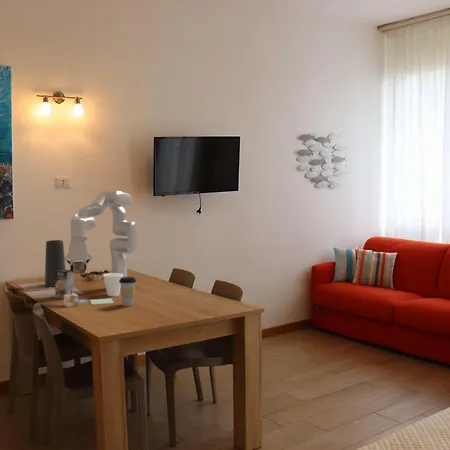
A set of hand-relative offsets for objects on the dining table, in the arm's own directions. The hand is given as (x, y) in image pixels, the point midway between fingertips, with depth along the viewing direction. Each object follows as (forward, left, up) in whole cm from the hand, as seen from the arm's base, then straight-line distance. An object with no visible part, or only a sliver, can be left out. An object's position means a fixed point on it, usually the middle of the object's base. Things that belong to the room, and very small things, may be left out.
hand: (78, 271), depth 342 cm
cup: (-21, -12, -18) cm, 30 cm away
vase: (+10, -54, -18) cm, 58 cm away
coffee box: (+7, -14, -18) cm, 23 cm away
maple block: (+5, +9, -17) cm, 20 cm away
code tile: (0, 0, -17) cm, 17 cm away
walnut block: (0, 0, -1) cm, 1 cm away
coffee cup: (-25, +17, -18) cm, 35 cm away
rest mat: (-12, +6, -17) cm, 22 cm away
